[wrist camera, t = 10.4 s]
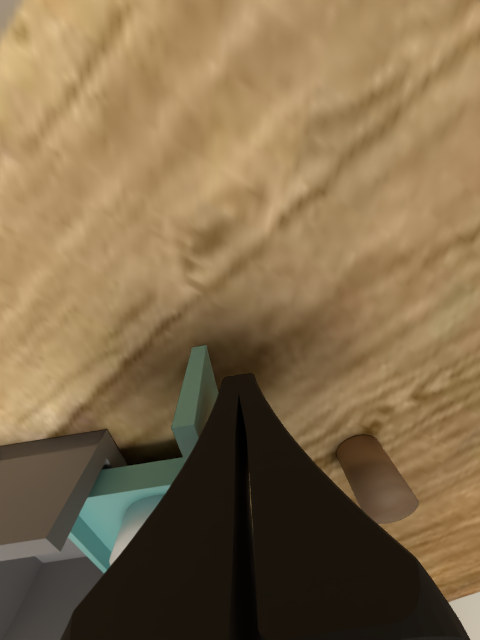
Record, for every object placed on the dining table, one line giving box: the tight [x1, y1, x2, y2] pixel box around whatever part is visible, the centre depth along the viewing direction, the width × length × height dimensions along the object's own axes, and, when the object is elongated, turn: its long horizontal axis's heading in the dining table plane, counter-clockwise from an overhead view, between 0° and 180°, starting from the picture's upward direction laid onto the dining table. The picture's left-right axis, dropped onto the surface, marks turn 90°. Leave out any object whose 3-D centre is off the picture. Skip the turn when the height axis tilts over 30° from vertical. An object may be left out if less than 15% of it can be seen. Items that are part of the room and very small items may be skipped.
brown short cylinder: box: [336, 435, 419, 524], centre depth 14 cm, size 3×3×4 cm
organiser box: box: [0, 430, 128, 640], centre depth 14 cm, size 11×13×5 cm
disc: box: [109, 494, 164, 566], centre depth 13 cm, size 6×6×2 cm
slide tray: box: [68, 345, 219, 573], centre depth 13 cm, size 10×18×5 cm, turn 9°
